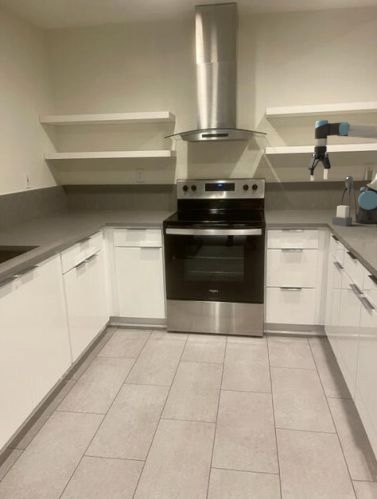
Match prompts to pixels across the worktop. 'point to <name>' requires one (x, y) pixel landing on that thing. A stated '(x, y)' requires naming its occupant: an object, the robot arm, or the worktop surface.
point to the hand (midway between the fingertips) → (319, 179)
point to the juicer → (348, 188)
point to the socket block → (341, 221)
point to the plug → (343, 211)
